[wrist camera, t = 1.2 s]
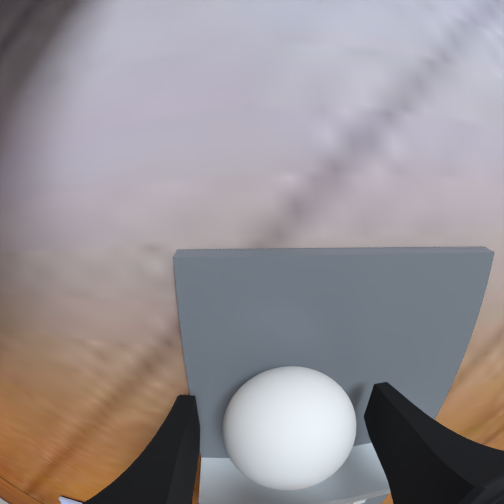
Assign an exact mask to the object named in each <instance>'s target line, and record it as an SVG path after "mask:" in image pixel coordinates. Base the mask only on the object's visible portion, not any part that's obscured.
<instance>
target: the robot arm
mask: <svg viewBox="0 0 504 504" xmlns="http://www.w3.org/2000/svg"><path fill="white" fill-rule="evenodd" d="M364 420H365V424H366V428H367V431H368V435H369V438H370V440H371V442H372V445H373V447H374V449H375V452H376V454H377V456H378V459H379V461H380V463H381V466H382V468H383V470H384V473H385V475H386V478H387V481H388V484H389V487H390V491H391V495H392V499H393V503H394V504H504V451H502V450H498V449H494V448H491V447H488V446H484V445H482V444H479V443H476V442H474V441H472V440H469V439H467V438H465V437H463V436H461V435H459V434H457V433H455V432H453V431H451V430H450V429H448V428H446V427H445V426H443V425H441V424H440V423H438V422H437V421H436V420H434V419H433V418H431V417H430V416H428V415H427V414H426V413H424V412H423V411H422V410H420V409H419V408H418V407H417V406H415V405H414V404H413V403H412V402H411V401H409V400H408V399H407V398H406V397H405V396H403V395H402V394H401V393H400V392H399V391H398V390H396V389H395V388H394V387H393V386H392V385H390V384H389V383H388V382H382V383H377V384H374V386H373V389H372V392H371V395H370V398H369V401H368V405H367V408H366V410H365V413H364ZM199 450H200V422H199V416H198V410H197V404H196V397H195V396H193V395H179V396H178V397H177V399H176V401H175V403H174V405H173V407H172V409H171V411H170V412H169V414H168V416H167V418H166V419H165V421H164V423H163V424H162V426H161V427H160V429H159V430H158V432H157V433H156V435H155V436H154V438H153V439H152V440H151V442H150V443H149V444H148V446H147V447H146V448H145V450H144V451H143V452H142V453H141V454H140V456H139V457H138V458H137V459H136V460H135V461H134V462H133V463H132V465H131V466H130V467H129V468H128V469H127V470H126V471H124V472H123V473H122V474H121V475H120V476H119V477H118V478H117V479H116V480H115V481H114V482H112V483H111V484H110V485H109V486H107V487H106V488H105V489H103V490H102V491H101V492H99V493H98V494H97V495H95V496H94V497H92V498H91V499H89V500H87V501H86V502H84V503H81V502H78V501H74V500H71V499H68V498H64V497H59V501H60V502H61V504H192V496H193V489H194V482H195V476H196V470H197V463H198V457H199Z"/></svg>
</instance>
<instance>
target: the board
mask: <svg viewBox="0 0 504 504" xmlns="http://www.w3.org/2000/svg"><path fill="white" fill-rule="evenodd" d="M493 256H494V252H493V251H491V250H489V249H487V248H486V247H393V248H288V249H204V250H177V251H176V253H175V255H174V257H173V261H174V273H175V284H176V294H177V304H178V313H179V321H180V330H181V338H182V346H183V353H184V360H185V367H186V374H187V381H188V387H189V393H190V395H193V396H195V397H196V404H197V410H198V416H199V422H200V453H201V471H200V487H199V504H381V503H382V502H383V501H384V499H385V498H386V497H387V495H388V494H389V493H391V491H390V487H389V484H388V481H387V478H386V475H385V473H384V470H383V468H382V466H381V463H380V461H379V459H378V456H377V454H376V452H375V449H374V447H373V445H372V442H371V440H370V438H369V435H368V431H367V428H366V424H365V420H364V413H365V410H366V408H367V405H368V401H369V398H370V395H371V392H372V389H373V386H374V384H377V383H382V382H388V383H389V384H390V385H392V386H393V387H394V388H395V389H396V390H398V391H399V392H400V393H401V394H402V395H403V396H405V397H406V398H407V399H408V400H409V401H411V402H412V403H413V404H414V405H415V406H417V407H418V408H419V409H420V410H422V411H423V412H424V413H426V414H427V415H428V416H430V417H431V418H433V419H434V420H435V418H436V416H437V414H438V412H439V410H440V408H441V406H442V404H443V402H444V400H445V398H446V396H447V394H448V392H449V390H450V387H451V385H452V383H453V381H454V378H455V376H456V374H457V371H458V369H459V367H460V364H461V362H462V359H463V357H464V354H465V352H466V349H467V346H468V343H469V341H470V338H471V335H472V332H473V329H474V326H475V323H476V320H477V317H478V314H479V311H480V307H481V304H482V301H483V297H484V293H485V290H486V286H487V282H488V278H489V274H490V270H491V265H492V261H493ZM285 366H299V367H305V368H310V369H313V370H316V371H319V372H321V373H323V374H325V375H327V376H328V377H330V378H331V379H333V380H334V381H335V382H336V383H337V384H339V385H340V386H341V387H342V389H343V390H344V391H345V393H346V394H347V395H348V397H349V399H350V401H351V403H352V405H353V408H354V411H355V416H356V423H357V424H356V437H355V441H354V445H353V447H352V450H351V452H350V454H349V456H348V457H347V459H346V460H345V462H344V463H343V465H342V466H341V467H340V468H339V469H338V470H337V471H336V472H335V473H334V474H333V475H331V476H330V477H328V478H327V479H325V480H324V481H322V482H320V483H318V484H316V485H313V486H311V487H307V488H304V489H298V490H276V489H271V488H267V487H264V486H261V485H259V484H257V483H255V482H253V481H251V480H250V479H248V478H247V477H245V476H244V475H243V474H242V473H241V472H240V471H239V470H238V469H237V468H236V467H235V466H234V464H233V463H232V461H231V460H230V458H229V456H228V454H227V452H226V450H225V446H224V442H223V435H222V426H223V419H224V415H225V411H226V409H227V406H228V404H229V402H230V400H231V399H232V397H233V396H234V394H235V393H236V392H237V391H238V390H239V388H240V387H241V386H242V385H243V384H245V383H246V382H247V381H248V380H250V379H251V378H253V377H254V376H256V375H258V374H260V373H262V372H264V371H267V370H270V369H273V368H278V367H285Z"/></svg>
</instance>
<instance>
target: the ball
mask: <svg viewBox="0 0 504 504" xmlns="http://www.w3.org/2000/svg"><path fill="white" fill-rule="evenodd" d="M356 424H357V423H356V416H355V411H354V408H353V405H352V403H351V401H350V399H349V397H348V395H347V394H346V393H345V391H344V390H343V389H342V387H341V386H340V385H339V384H337V383H336V382H335V381H334V380H333V379H331V378H330V377H328V376H327V375H325V374H323V373H321V372H319V371H316V370H313V369H310V368H305V367H299V366H285V367H278V368H273V369H270V370H267V371H264V372H262V373H260V374H258V375H256V376H254V377H253V378H251V379H250V380H248V381H247V382H246V383H245V384H243V385H242V386H241V387H240V388H239V390H238V391H237V392H236V393H235V394H234V396H233V397H232V399H231V400H230V402H229V404H228V406H227V409H226V411H225V415H224V419H223V426H222V435H223V442H224V446H225V450H226V452H227V454H228V456H229V458H230V460H231V461H232V463H233V464H234V466H235V467H236V468H237V469H238V470H239V471H240V472H241V473H242V474H243V475H244V476H245V477H247V478H248V479H250V480H251V481H253V482H255V483H257V484H259V485H261V486H264V487H267V488H271V489H276V490H298V489H304V488H307V487H311V486H313V485H316V484H318V483H320V482H322V481H324V480H325V479H327V478H328V477H330V476H331V475H333V474H334V473H335V472H336V471H337V470H338V469H339V468H340V467H341V466H342V465H343V463H344V462H345V460H346V459H347V457H348V456H349V454H350V452H351V450H352V447H353V445H354V441H355V437H356Z"/></svg>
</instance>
